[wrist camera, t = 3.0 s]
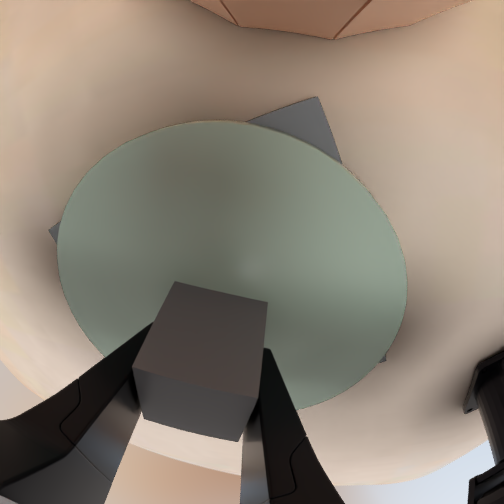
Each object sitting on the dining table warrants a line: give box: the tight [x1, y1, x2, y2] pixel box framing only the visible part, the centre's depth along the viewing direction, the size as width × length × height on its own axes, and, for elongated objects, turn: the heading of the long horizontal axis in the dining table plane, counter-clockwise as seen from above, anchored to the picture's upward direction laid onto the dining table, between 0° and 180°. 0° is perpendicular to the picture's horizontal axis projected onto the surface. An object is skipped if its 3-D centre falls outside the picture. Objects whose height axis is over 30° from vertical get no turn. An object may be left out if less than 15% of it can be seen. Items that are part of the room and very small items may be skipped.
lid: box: [57, 120, 407, 442], centre depth 9 cm, size 13×13×4 cm
